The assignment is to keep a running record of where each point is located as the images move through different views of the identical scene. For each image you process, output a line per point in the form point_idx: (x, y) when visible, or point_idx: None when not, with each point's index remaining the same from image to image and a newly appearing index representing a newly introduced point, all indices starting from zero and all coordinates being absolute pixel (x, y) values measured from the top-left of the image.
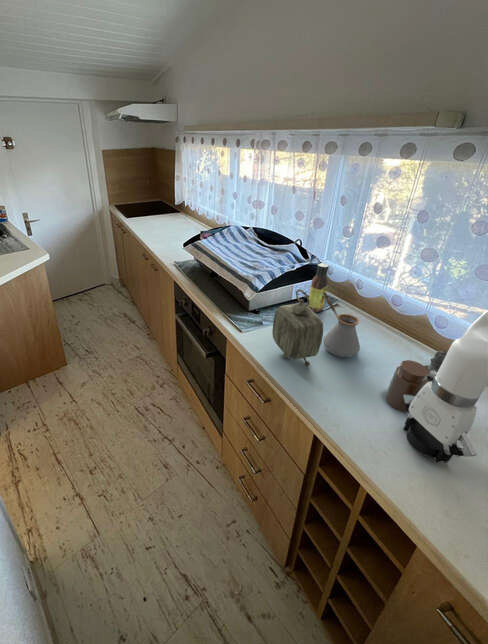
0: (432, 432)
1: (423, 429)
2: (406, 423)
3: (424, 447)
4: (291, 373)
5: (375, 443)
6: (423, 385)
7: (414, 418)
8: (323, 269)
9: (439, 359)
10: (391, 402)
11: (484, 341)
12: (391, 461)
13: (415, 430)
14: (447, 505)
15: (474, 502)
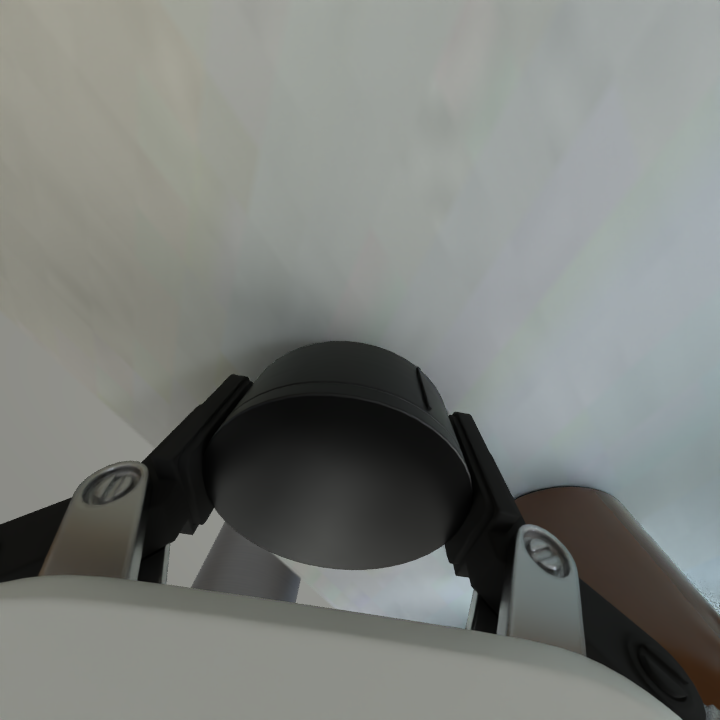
0: (145, 688)
1: (384, 511)
2: (492, 463)
3: (277, 383)
4: None
5: (541, 127)
6: None
7: (488, 557)
8: None
9: None
10: (597, 507)
11: None
12: (366, 97)
13: (413, 463)
14: (22, 181)
15: (62, 343)
